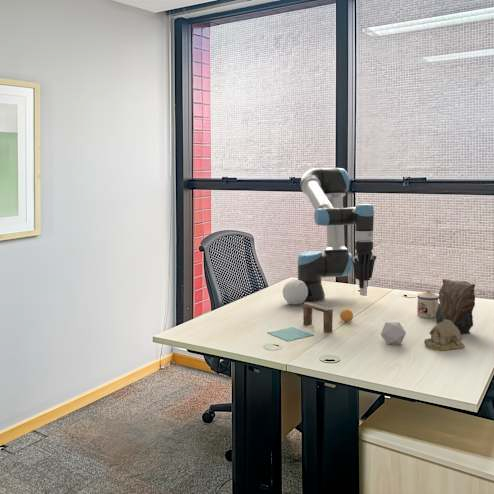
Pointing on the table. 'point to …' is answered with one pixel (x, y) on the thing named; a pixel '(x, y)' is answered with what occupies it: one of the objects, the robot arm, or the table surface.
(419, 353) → the table surface
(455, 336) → the ceramic model
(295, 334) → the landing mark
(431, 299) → the teacup with lid
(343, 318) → the ball
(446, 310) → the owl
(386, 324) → the die
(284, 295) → the decorative ball
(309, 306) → the bridge
